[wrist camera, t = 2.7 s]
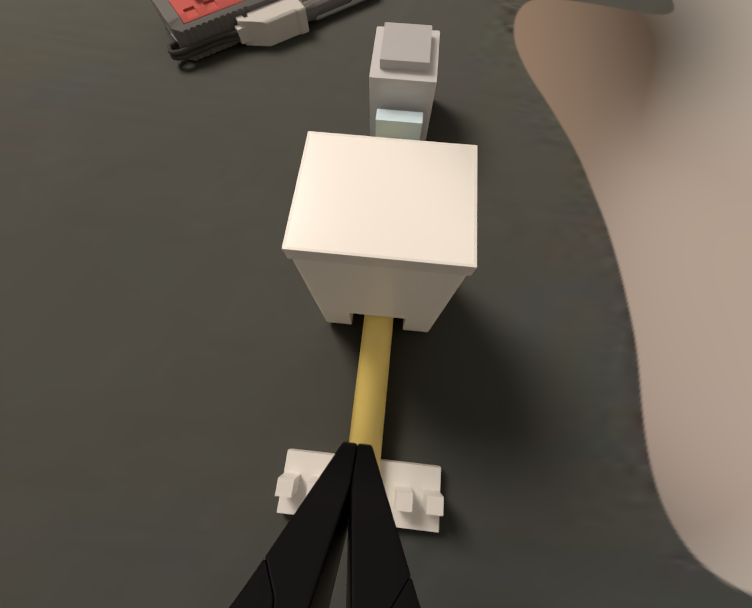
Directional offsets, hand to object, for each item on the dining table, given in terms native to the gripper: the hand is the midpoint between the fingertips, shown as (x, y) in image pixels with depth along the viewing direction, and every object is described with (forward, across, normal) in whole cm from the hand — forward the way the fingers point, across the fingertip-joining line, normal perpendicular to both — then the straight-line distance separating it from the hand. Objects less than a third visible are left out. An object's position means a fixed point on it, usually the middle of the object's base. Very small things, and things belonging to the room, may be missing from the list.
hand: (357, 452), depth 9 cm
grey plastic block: (+23, 0, -10) cm, 25 cm away
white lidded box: (+13, 0, +1) cm, 13 cm away
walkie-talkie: (+32, +14, -18) cm, 40 cm away
